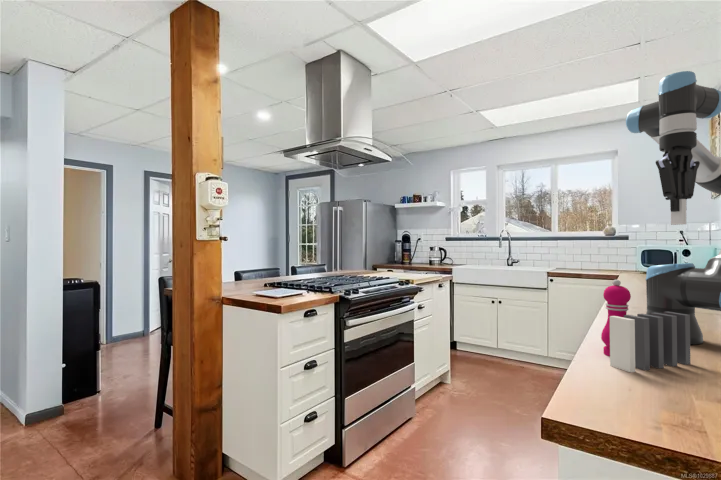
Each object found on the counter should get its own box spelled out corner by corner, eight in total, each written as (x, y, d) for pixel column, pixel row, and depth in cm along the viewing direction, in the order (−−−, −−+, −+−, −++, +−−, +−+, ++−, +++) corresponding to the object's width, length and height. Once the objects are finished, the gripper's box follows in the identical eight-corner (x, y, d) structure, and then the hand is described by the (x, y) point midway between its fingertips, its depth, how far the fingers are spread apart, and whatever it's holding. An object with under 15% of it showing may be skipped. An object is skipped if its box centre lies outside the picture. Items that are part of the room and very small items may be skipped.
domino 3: (655, 360, 97) (655, 312, 97) (677, 366, 92) (676, 316, 92) (651, 360, 97) (650, 312, 97) (672, 366, 92) (672, 316, 92)
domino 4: (668, 358, 98) (668, 311, 99) (690, 364, 94) (689, 314, 94) (664, 358, 98) (663, 311, 98) (685, 364, 93) (685, 315, 93)
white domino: (615, 365, 93) (614, 315, 93) (635, 371, 88) (634, 319, 88) (610, 365, 93) (609, 316, 93) (630, 372, 88) (629, 320, 88)
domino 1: (629, 363, 94) (628, 314, 95) (649, 369, 90) (649, 318, 90) (624, 364, 94) (623, 315, 94) (644, 370, 89) (644, 318, 89)
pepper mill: (624, 361, 96) (623, 281, 97) (595, 353, 103) (594, 279, 103) (640, 356, 100) (639, 280, 100) (611, 350, 106) (610, 277, 106)
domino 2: (642, 361, 96) (642, 313, 96) (663, 367, 91) (663, 317, 91) (637, 362, 95) (637, 313, 95) (658, 368, 91) (658, 317, 91)
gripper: (679, 139, 106) (680, 225, 105) (644, 136, 102) (645, 225, 102) (711, 132, 98) (712, 224, 98) (675, 128, 95) (676, 223, 94)
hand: (678, 224), depth 100 cm, fingers closed
